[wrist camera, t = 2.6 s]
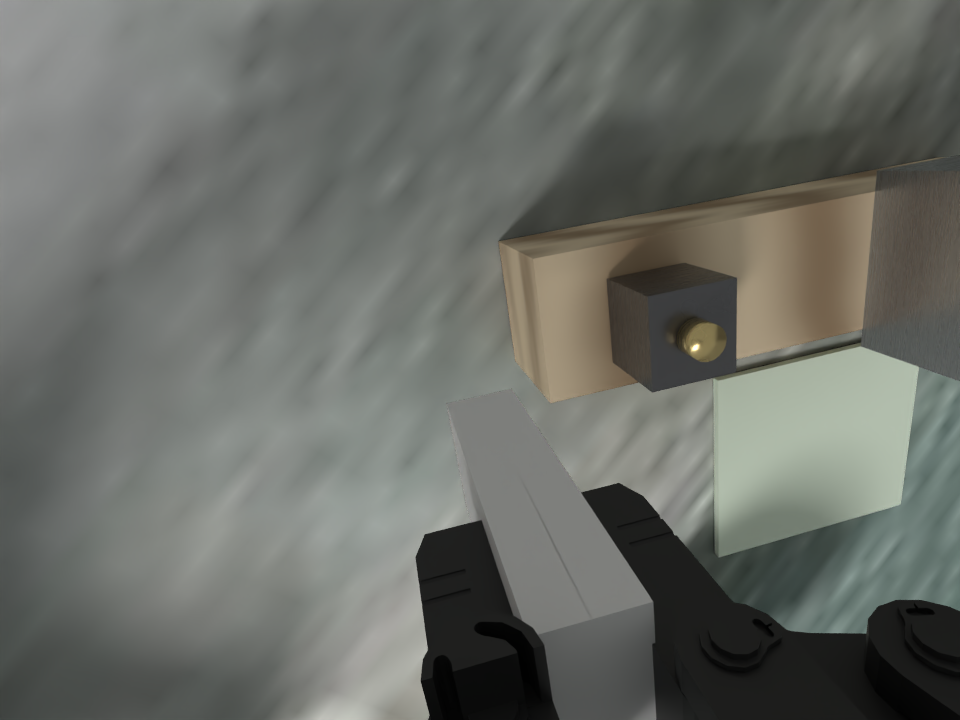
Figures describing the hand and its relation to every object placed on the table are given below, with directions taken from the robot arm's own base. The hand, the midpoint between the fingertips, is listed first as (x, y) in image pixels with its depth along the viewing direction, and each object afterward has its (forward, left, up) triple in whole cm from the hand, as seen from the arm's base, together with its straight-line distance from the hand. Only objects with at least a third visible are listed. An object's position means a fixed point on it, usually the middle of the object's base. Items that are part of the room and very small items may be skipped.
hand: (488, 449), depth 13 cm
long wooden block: (+15, 0, -12) cm, 19 cm away
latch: (+8, 0, -7) cm, 10 cm away
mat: (+20, -12, -12) cm, 26 cm away
